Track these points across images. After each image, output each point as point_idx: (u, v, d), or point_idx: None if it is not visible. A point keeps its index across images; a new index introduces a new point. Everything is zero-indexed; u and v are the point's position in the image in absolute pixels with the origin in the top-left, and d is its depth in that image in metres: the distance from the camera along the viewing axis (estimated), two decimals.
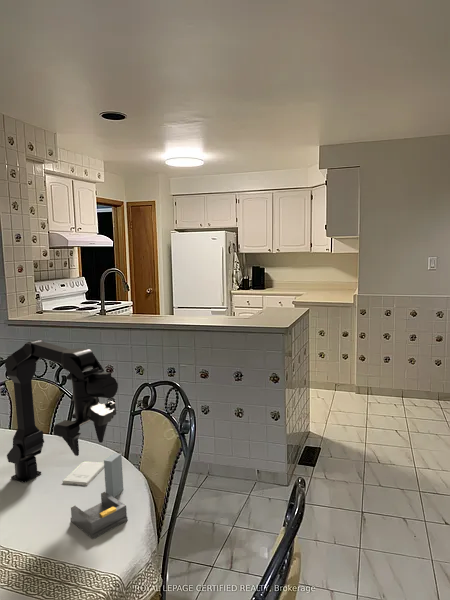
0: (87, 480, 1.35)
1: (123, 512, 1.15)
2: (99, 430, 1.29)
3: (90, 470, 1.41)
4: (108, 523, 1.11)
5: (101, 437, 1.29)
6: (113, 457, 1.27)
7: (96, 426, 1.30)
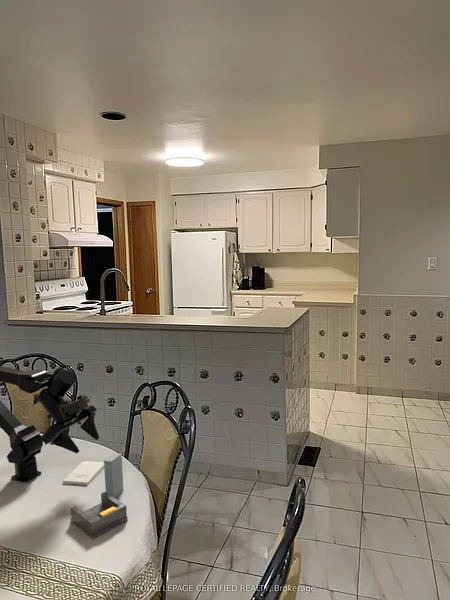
0: (87, 480, 1.35)
1: (123, 512, 1.15)
2: (91, 430, 1.35)
3: (90, 470, 1.41)
4: (108, 523, 1.11)
5: (95, 434, 1.34)
6: (113, 457, 1.27)
7: (86, 430, 1.35)
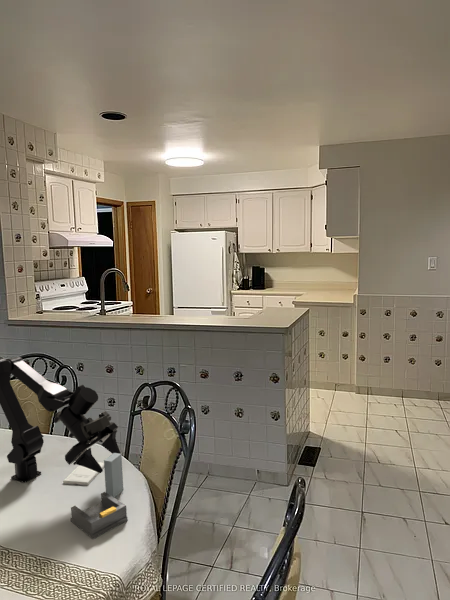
0: (88, 480, 1.35)
1: (123, 512, 1.15)
2: (113, 448, 1.33)
3: None
4: (108, 523, 1.11)
5: (117, 452, 1.32)
6: (113, 457, 1.27)
7: (108, 448, 1.33)
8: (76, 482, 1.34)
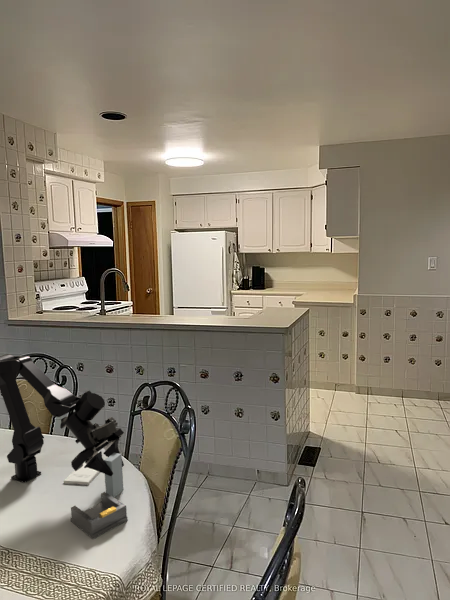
0: (88, 479, 1.35)
1: (123, 512, 1.15)
2: None
3: (91, 469, 1.41)
4: (108, 523, 1.11)
5: None
6: (113, 457, 1.27)
7: None
8: (76, 482, 1.34)
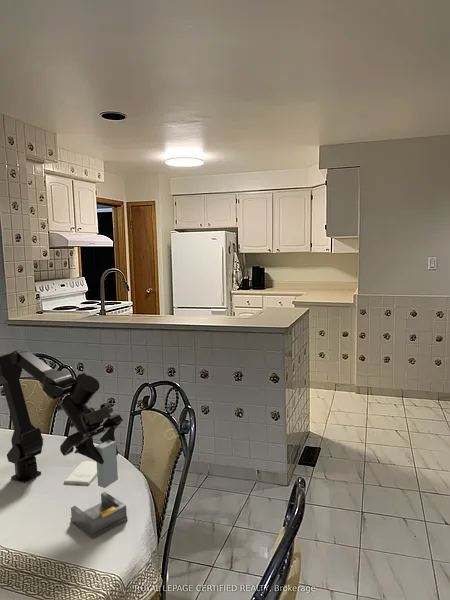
0: (89, 479, 1.35)
1: (123, 512, 1.15)
2: None
3: (91, 469, 1.41)
4: (108, 523, 1.11)
5: None
6: (106, 444, 1.20)
7: None
8: (77, 482, 1.34)
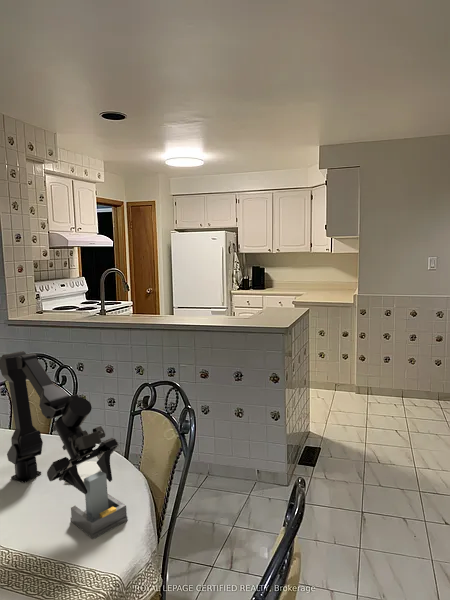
0: None
1: (123, 512, 1.15)
2: (105, 469, 1.18)
3: (91, 469, 1.41)
4: (108, 523, 1.11)
5: (108, 474, 1.17)
6: (96, 476, 1.14)
7: (101, 468, 1.19)
8: None
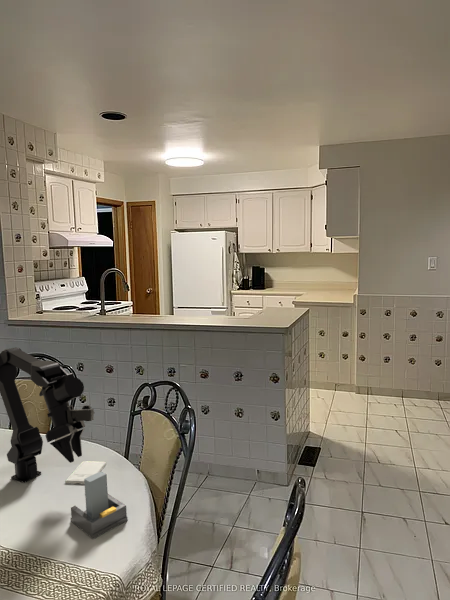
0: None
1: (123, 512, 1.15)
2: (76, 444, 1.29)
3: (92, 469, 1.41)
4: (108, 523, 1.11)
5: (80, 450, 1.29)
6: (96, 476, 1.14)
7: (70, 443, 1.29)
8: (78, 481, 1.34)
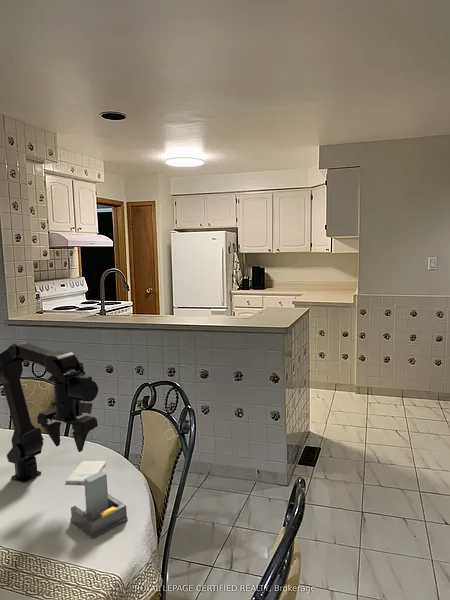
0: None
1: (123, 512, 1.15)
2: (57, 434, 1.31)
3: (92, 469, 1.41)
4: (108, 523, 1.11)
5: (59, 439, 1.31)
6: (96, 476, 1.14)
7: (52, 432, 1.30)
8: (79, 481, 1.34)
